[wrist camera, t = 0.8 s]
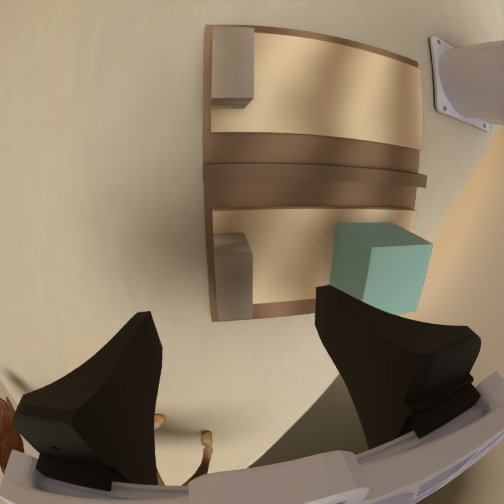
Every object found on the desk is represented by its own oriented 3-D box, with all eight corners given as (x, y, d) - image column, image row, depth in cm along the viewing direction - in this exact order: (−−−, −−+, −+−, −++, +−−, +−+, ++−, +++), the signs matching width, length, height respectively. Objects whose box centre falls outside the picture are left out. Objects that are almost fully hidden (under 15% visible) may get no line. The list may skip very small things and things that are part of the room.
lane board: (412, 63, 17) (426, 59, 15) (391, 297, 25) (402, 307, 23) (205, 29, 15) (205, 18, 13) (211, 316, 23) (212, 330, 21)
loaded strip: (410, 208, 21) (449, 225, 16) (397, 283, 23) (427, 310, 19) (212, 208, 18) (213, 229, 14) (216, 300, 21) (219, 340, 17)
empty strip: (414, 70, 16) (454, 62, 12) (415, 149, 19) (457, 155, 14) (212, 36, 14) (214, 4, 10) (211, 133, 17) (211, 127, 12)
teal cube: (392, 222, 20) (433, 244, 15) (381, 280, 22) (415, 311, 17) (336, 222, 19) (372, 247, 15) (328, 285, 21) (357, 322, 16)
